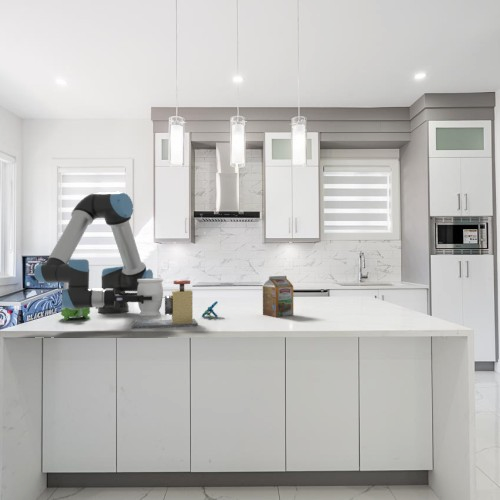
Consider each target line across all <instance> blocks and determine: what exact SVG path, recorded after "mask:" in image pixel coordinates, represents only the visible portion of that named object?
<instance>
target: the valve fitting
mask: <svg viewBox="0 0 500 500" xmlns="http://www.w3.org/2000/svg"><path fill="white" fill-rule="evenodd" d="M190 284H191V280H187V279H186V280H185V279H184V280H181V279H180V280H173V285H179V289H172V290H171V295H165V296H164V316H171V318H170V319H152V320H151V319H149V320H133V321H132V324H131V329H133V330H136V329H153V328H155V329H156V328H179V327H197V326H199V323H198V321H197V319H195V318H193V290H192V289H185V285H190Z"/></svg>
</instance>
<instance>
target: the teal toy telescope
mask: <svg viewBox="0 0 500 500" xmlns="http://www.w3.org/2000/svg"><path fill="white" fill-rule="evenodd" d="M218 303H219V302H218V301H217V300H216V301H215V302H214V303H212V304H211V305H210V306H208V307H207V309H206V310H205V311H204V312H203V313H202V315H201V317H202V318H204V317H205V316H209V317H210V318H211V319H214V317H215V318H217V317H218V316H219V315H217V313H216V312H215V311H214V308H215V306H217V304H218ZM211 314H212V315H213V316H214V317H213V316H212V315H211Z"/></svg>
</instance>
